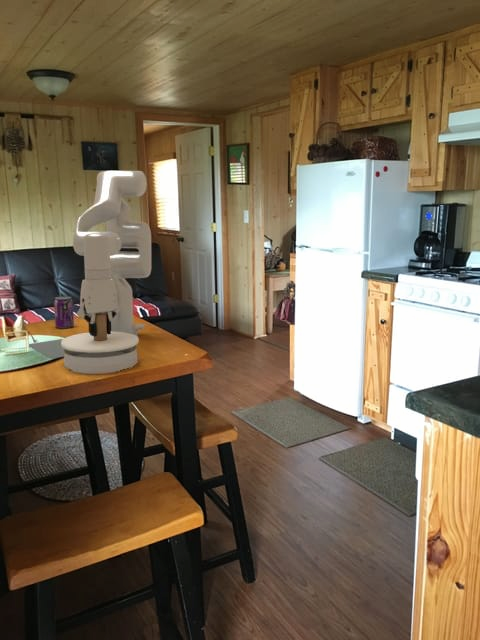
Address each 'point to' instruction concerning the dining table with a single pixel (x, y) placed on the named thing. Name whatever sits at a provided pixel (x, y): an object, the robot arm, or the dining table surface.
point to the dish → (100, 361)
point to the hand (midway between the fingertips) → (100, 334)
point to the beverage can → (63, 312)
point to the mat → (49, 348)
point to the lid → (100, 339)
